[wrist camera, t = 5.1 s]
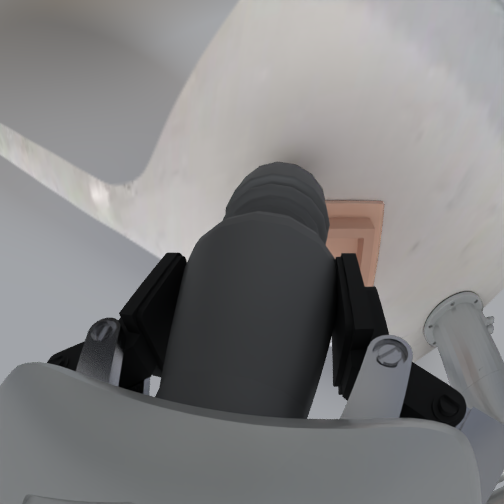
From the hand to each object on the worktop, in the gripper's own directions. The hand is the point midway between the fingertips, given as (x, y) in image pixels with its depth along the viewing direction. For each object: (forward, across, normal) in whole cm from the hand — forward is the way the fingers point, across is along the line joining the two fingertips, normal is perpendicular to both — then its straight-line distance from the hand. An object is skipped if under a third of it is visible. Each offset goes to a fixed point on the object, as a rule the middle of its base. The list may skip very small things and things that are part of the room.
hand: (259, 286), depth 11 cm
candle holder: (+9, 0, 0) cm, 9 cm away
